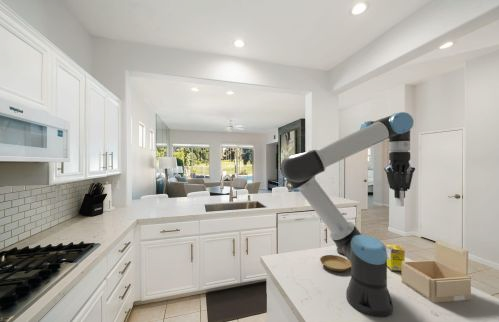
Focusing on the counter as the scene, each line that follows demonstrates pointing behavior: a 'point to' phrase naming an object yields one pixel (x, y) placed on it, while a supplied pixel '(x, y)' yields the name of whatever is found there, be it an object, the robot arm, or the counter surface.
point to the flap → (451, 256)
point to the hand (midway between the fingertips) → (399, 205)
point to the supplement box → (395, 257)
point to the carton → (436, 281)
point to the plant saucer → (335, 263)
